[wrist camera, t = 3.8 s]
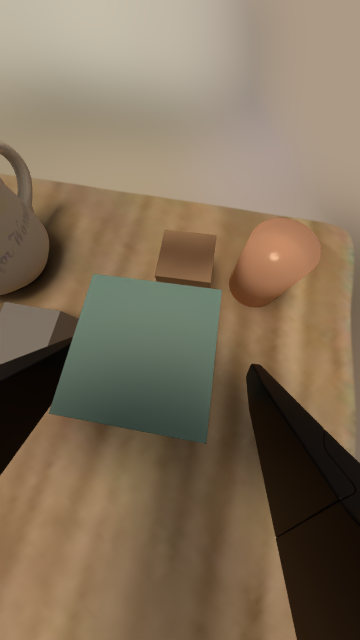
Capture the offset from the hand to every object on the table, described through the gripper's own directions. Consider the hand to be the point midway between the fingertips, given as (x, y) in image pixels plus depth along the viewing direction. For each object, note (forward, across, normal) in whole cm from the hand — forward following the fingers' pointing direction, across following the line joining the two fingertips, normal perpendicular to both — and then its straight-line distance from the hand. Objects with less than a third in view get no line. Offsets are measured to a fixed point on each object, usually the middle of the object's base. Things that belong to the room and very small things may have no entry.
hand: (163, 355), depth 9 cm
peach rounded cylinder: (+12, -7, -1) cm, 14 cm away
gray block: (+5, +12, +6) cm, 14 cm away
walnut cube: (+11, 0, -1) cm, 11 cm away
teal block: (+5, 0, +5) cm, 7 cm away
